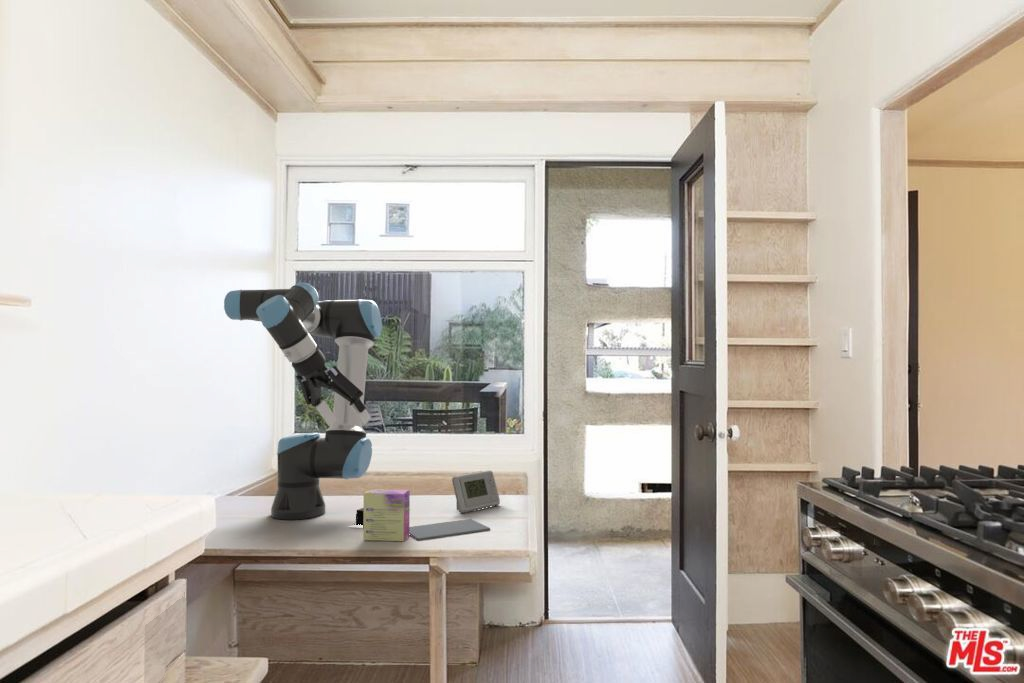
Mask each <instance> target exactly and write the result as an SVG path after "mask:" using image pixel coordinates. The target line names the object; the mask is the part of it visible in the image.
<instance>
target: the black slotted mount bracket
mask: <svg viewBox="0 0 1024 683" xmlns="http://www.w3.org/2000/svg"><path fill="white" fill-rule="evenodd" d="M363 512H364V507H362V508H359V509H356V514H355V523H356V525H358V524H359V525H360V524H361V525H363ZM355 523H353V524H354V525H355Z"/></svg>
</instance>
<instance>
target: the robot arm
mask: <svg viewBox="0 0 1024 683" xmlns="http://www.w3.org/2000/svg"><path fill="white" fill-rule="evenodd" d="M223 301H224V302H223V304H224V305H223V310H224V312H225V315H226V316H227V317H228V318H229V319H230V320H233V321H234V320H236V321H254V322H261V324H262V326H263V327H264V328H265V330H267V332H268V333H269V335H270V336H271V337H272V339H273V340H274V341H275V343H276V344H277V346H278V347H279V349H280V350H281V351H282V353H283V354H284V355H283V356H284V357H285V358H286V359H287V361H288V362H289V363H291V367H292V368H293V370H294V371H295V372H296V374H297V375H296V376H295V377H296V379H297V381H298V382H299V385H300V389H301V392H302V395H303V397H304V402H305V404H306V405H308V406H309V405H311V406H312V407H315V409H316V411H317V412H318V413H319V414H320V415H321V417H322V419H323V420H324V421H325V423H326V424H327V426H328V428H327V429H326V430H325V436H324V437H321V435H320V433H319V432H308V433H302V434H295V435H290V436H285V437H282V438H280V439H279V440H278V444H277V451H276V452H277V453H276V456H277V490H276V493H275V495H274V499H273V501H272V505H271V508H270V516H271V518H273V519H277V520H301V519H302V520H303V519H310V518H315V517H319V516H322V515H324V514H325V513H326V502H325V500H324V496H323V493H322V490H321V487H320V479H337V480H338V479H341V480H342V479H343V480H349V479H360V478H362V477H363V476H364V475H365V474H366V472H367V471H368V470H369V467H370V464H371V461H372V456H373V455H372V454H373V448H372V446H373V443H372V440H371V439H370V438H368V437H367V432H366V431H365V430H364V428H363V426H364V425H366V424H367V423H368V422H369V421H370V420H371V419H372V416H371V414H370V413H369V411H368V410H367V408H366V407H365V405H364V403H365V402H364V401H365V389H366V379H367V370H368V369H367V368H368V358H369V357H368V356H369V349H370V348H372V347H373V346H374V344H375V339H378V338H380V337H381V335H382V331H383V322H382V316H381V310H380V309H379V307H378V305H377V303H376V302H375V301H374V300H371V299H361V298H360V299H359V298H358V299H337V300H336V299H335V300H333V299H332V300H319V294H318V291H317V289H316V288H315V287H314V286H313V285H311V284H309V283H306V282H297V283H295V284H294V285H292V286H291V287H290V288H275V289H271V288H270V289H269V288H268V289H237V290H230V291H228V292H227V293H226V295H225V296H224V299H223ZM312 336H316V337H320V338H327V339H334V342H335V344H336V345H337V346H338V347H339V348H338V357H337V366H336V365H333V366H331V368H328V367H327V366H326V356H325V355H324V353H323V352H322V351H321V349H320V348H319V347H317V346H318V345H317V343H316V342H315V340H314V338H313V337H312ZM322 388H326V389H327V390H331V391H334V399H333V409H331V408H330V407H329V405H328V404H327V402H326V401H325V400H323V399H324V398H323V397H322Z"/></svg>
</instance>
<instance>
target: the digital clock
mask: <svg viewBox="0 0 1024 683" xmlns="http://www.w3.org/2000/svg"><path fill="white" fill-rule="evenodd" d="M451 481H452V482H451V483H452V485H453V486H452V487H453V490H454V495H455V499H456V500H455V501H456V510H458V511H459V512H460V514H461V513H462V514H465V513H471V512H470V511H474V510H478V509H482V508H486V507H490V506H492V507H496V506H495V505H497V506H499V505H500V503H501V500H500V496H499V492H498V488H497V483H496V479H495V476H494V473H493V471H492V470H490V469H488V470H479V471H473V472H468V473H462V474H458V475H454V476H452V479H451ZM482 510H483V509H482ZM478 511H479V510H478ZM474 512H475V511H474Z"/></svg>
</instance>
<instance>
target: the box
mask: <svg viewBox="0 0 1024 683" xmlns="http://www.w3.org/2000/svg"><path fill="white" fill-rule="evenodd" d="M410 493H411V492H410V489H377V488H376V489H375V488H374V489H373V488H370V489H368V490H367V491H365V492H363V508H364V512H363V529H362V533H363V537H362V538H363V541H383V542H401V541H402V542H405V541H406V540H407V539H408V538H409V537H408V536H410V535H409V527H410V513H411V512H410V511H411V509H410V504H411V503H410V500H411V499H410V496H411V494H410ZM407 537H408V538H407ZM406 538H407V539H406ZM405 539H406V540H405ZM404 540H405V541H404Z"/></svg>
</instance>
